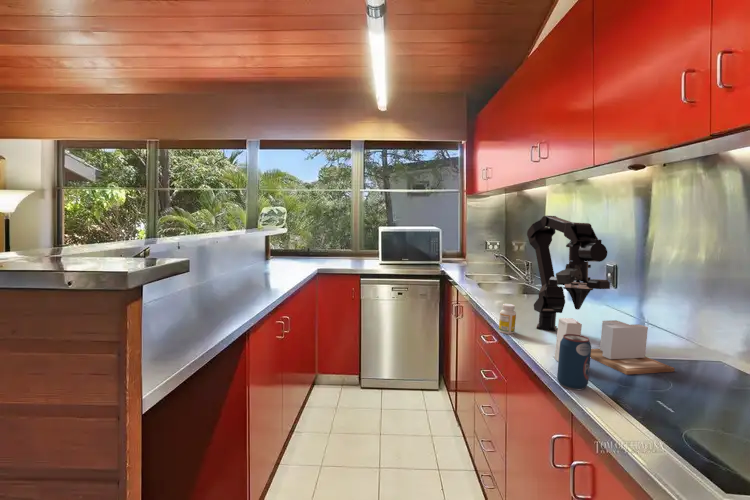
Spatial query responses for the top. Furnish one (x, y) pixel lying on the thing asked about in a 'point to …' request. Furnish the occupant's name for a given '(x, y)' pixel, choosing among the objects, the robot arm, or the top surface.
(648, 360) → the brown board
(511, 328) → the supplement bottle
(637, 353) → the white block
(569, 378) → the soda can
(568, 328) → the skincare box
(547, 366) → the top surface
